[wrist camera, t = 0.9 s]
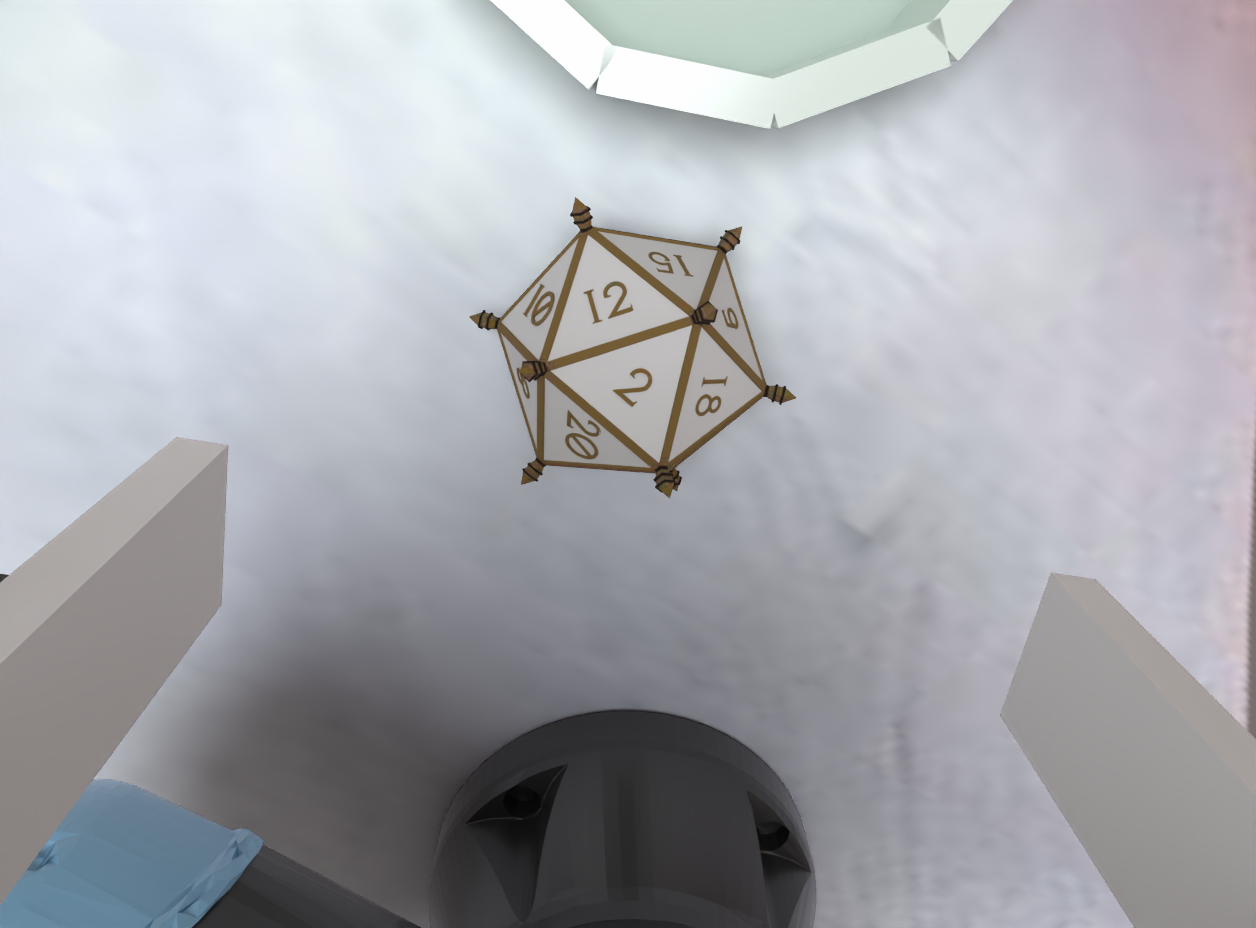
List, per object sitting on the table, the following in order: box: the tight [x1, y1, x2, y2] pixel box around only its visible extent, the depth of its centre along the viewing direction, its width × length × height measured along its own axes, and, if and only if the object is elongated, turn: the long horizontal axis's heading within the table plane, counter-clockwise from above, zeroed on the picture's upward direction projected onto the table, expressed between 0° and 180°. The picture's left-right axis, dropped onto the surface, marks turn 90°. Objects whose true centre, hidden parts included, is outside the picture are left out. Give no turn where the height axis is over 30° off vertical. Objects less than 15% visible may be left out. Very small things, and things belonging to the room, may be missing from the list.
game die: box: [470, 197, 796, 498], centre depth 30 cm, size 9×8×10 cm
